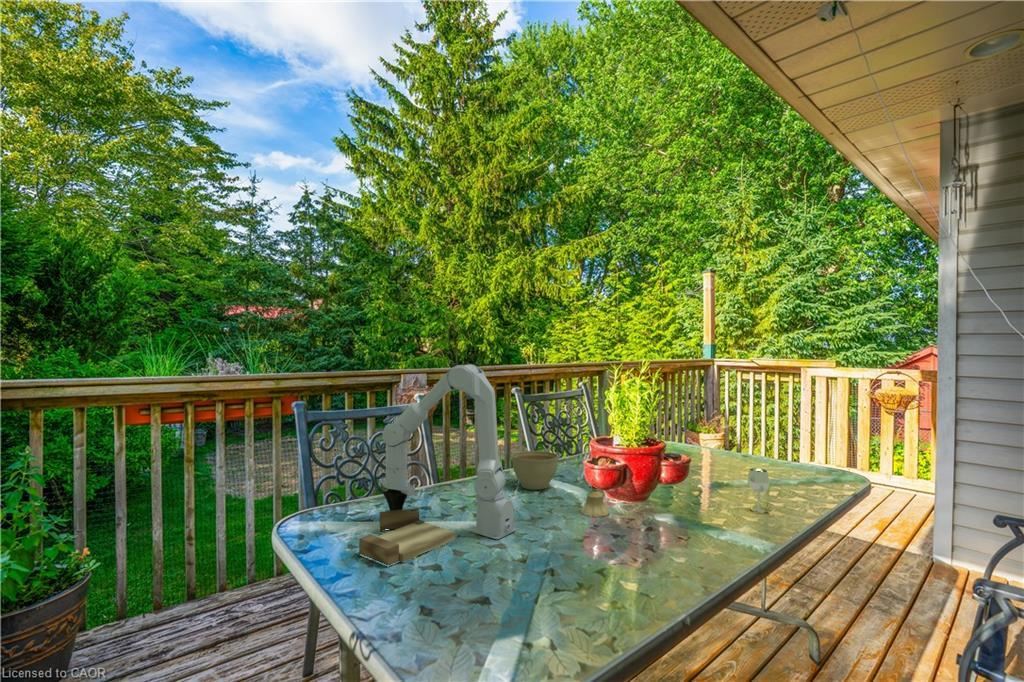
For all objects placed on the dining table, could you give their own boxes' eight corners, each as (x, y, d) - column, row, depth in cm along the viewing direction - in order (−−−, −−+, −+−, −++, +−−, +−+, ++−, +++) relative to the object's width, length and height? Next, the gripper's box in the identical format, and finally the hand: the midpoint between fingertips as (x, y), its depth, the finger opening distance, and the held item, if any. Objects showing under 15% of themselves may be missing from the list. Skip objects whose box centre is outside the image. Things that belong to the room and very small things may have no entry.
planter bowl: (566, 484, 174) (566, 453, 174) (544, 496, 160) (544, 462, 160) (526, 478, 182) (526, 448, 182) (502, 488, 168) (502, 456, 169)
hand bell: (601, 519, 138) (601, 462, 139) (575, 513, 143) (575, 458, 144) (614, 511, 145) (614, 457, 145) (589, 506, 150) (589, 453, 150)
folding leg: (419, 526, 131) (419, 510, 131) (380, 531, 128) (380, 514, 128) (417, 523, 134) (417, 507, 134) (379, 527, 130) (379, 510, 131)
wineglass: (764, 508, 149) (764, 468, 150) (772, 514, 144) (772, 472, 144) (744, 507, 150) (744, 467, 150) (752, 513, 144) (752, 472, 144)
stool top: (455, 540, 123) (455, 523, 123) (391, 569, 106) (391, 550, 106) (419, 528, 130) (419, 513, 130) (353, 553, 114) (353, 536, 114)
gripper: (424, 469, 133) (424, 519, 133) (393, 460, 143) (393, 507, 143) (402, 473, 128) (402, 526, 128) (372, 464, 138) (371, 513, 137)
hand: (396, 517), depth 135 cm, fingers closed
